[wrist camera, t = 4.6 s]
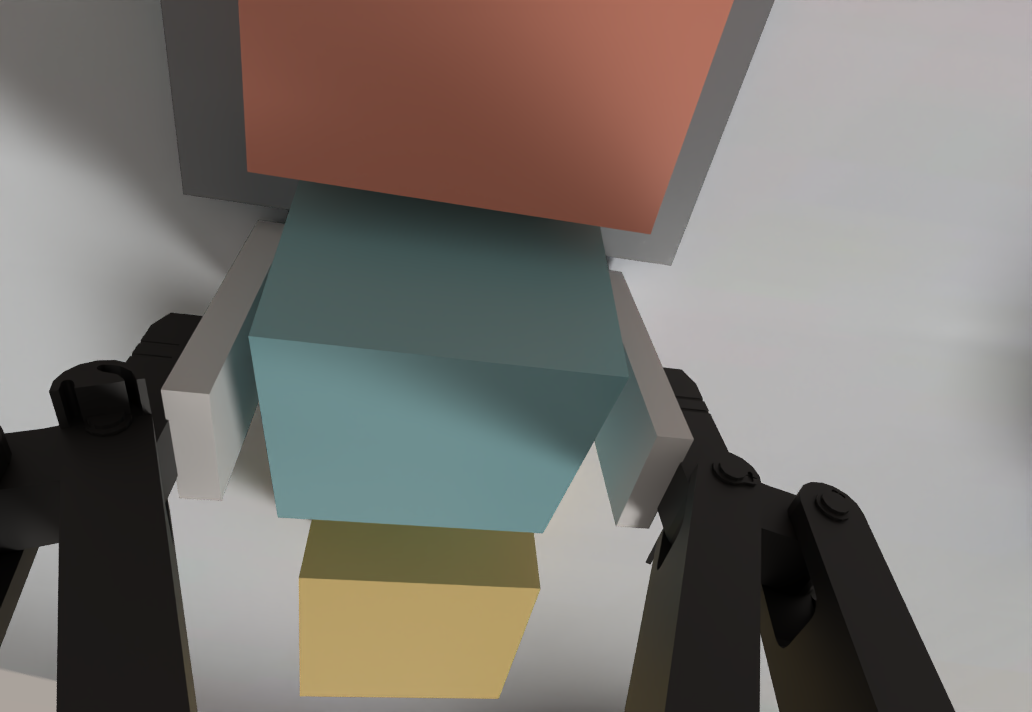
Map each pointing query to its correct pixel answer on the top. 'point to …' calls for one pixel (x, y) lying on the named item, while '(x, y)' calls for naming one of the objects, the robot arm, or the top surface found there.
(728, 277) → the top surface
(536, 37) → the base
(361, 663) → the ochre brick
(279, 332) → the teal brick
